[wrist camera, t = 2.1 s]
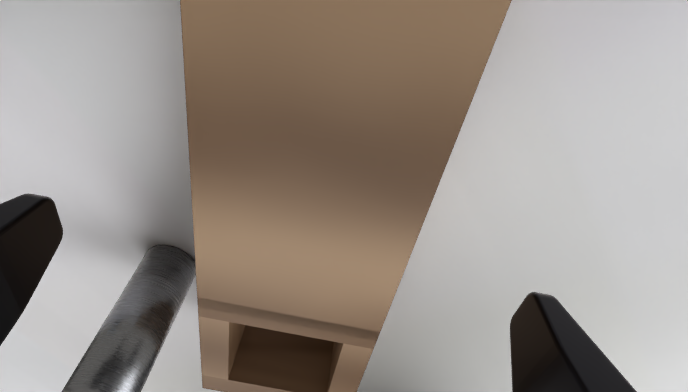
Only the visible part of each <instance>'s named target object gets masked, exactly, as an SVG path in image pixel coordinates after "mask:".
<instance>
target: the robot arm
mask: <svg viewBox="0 0 688 392" xmlns="http://www.w3.org/2000/svg"><path fill="white" fill-rule="evenodd" d="M62 236H63V228H62V225H61V222H60V218H59V215H58V212H57V209H56V206H55V203H54V201H53V200H52V199H51V198H49V197H45V196H40V195H35V194H24V195H21V196H18V197H16V198H14V199H11V200H9V201H6V202H4V203H2V204H0V345H1V344H2V343H3V341H4V340H5V338H6V337H7V335H8V334H9V332H10V331H11V329H12V328H13V326H14V325H15V323H16V322H17V320H18V319H19V317H20V316H21V314H22V313H23V311H24V309H25V307H26V306H27V304H28V302H29V300H30V298H31V297H32V295H33V293H34V291H35V289H36V287H37V285H38V283H39V282H40V280H41V278H42V276H43V274H44V272H45V270H46V269H47V267H48V265H49V263H50V261H51V259H52V257H53V255H54V254H55V252H56V250H57V248H58V246H59V244H60V242H61V240H62ZM510 340H511V365H512V390H513V392H636V391H635V389H634V388H633V387H632V386H631V385H630V384H629V382H628V381H627V380H626V379H625V378H624V377H623V375H622V374H621V373H620V372H619V371H618V370H617V369H616V367H615V366H614V365H613V364H612V363H611V362H610V360H609V359H608V358H607V357H606V356H605V355H604V353H603V352H602V351H601V350H600V349H599V348H598V347H597V345H596V344H595V343H594V342H593V341H592V340H591V338H590V337H589V336H588V335H587V334H586V333H585V332H584V330H583V329H582V328H581V327H580V326H579V325H578V323H577V322H576V321H575V320H574V319H573V318H572V316H571V315H570V314H569V313H568V312H567V311H566V310H565V308H564V307H563V306H562V305H561V304H560V303H559V301H558V300H557V299H556V298H555V297H553V296H551V295H547V294H542V293H537V292H532V293H530V294H528V295H527V296H526V298H525V299H524V301H523V302H522V304H521V305H520V307H519V308H518V309H517V311H516V312H515V314H514V315H513V317H512V319H511V323H510Z"/></svg>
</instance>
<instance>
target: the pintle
mask: <svg viewBox="0 0 688 392" xmlns="http://www.w3.org/2000/svg"><path fill="white" fill-rule="evenodd" d="M195 275H196V264H195V261H194V260H193V259H192V258H191V257H190V256H189V255H188V254H187V253H185V252H184V251H182V250H180V249H178V248H175V247H172V246H166V245H159V246H155V247H152V248H150V249H149V250H148V251H147V253H146V255H145V256H144V258H143V259H142V261H141V263H140V264H139V266H138V268H137V269H136V271H135V273H134V274H133V276H132V277H131V279H130V281H129V282H128V284H127V286H126V287H125V289H124V291H123V292H122V294H121V295H120V297H119V299H118V300H117V302H116V304H115V305H114V307H113V309H112V310H111V312H110V313H109V315H108V317H107V318H106V320H105V322H104V323H103V325H102V327H101V328H100V330H99V331H98V333H97V335H96V336H95V338H94V340H93V341H92V343H91V345H90V346H89V348H88V349H87V351H86V353H85V354H84V356H83V358H82V359H81V361H80V363H79V364H78V366H77V367H76V369H75V371H74V372H73V374H72V376H71V377H70V379H69V381H68V382H67V384H66V385H65V387H64V389H63V390H62V392H141V390H142V388H143V386H144V384H145V382H146V380H147V377H148V375H149V373H150V371H151V369H152V367H153V365H154V363H155V360H156V358H157V356H158V354H159V352H160V350H161V348H162V345H163V343H164V341H165V339H166V337H167V335H168V333H169V331H170V328H171V326H172V324H173V322H174V320H175V318H176V316H177V313H178V311H179V309H180V307H181V305H182V303H183V301H184V298H185V296H186V294H187V292H188V290H189V288H190V286H191V284H192V281H193V279H194V277H195Z"/></svg>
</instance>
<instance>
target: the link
mask: <svg viewBox="0 0 688 392" xmlns="http://www.w3.org/2000/svg"><path fill="white" fill-rule="evenodd" d="M510 3H511V0H180V5H181V22H182V39H183V57H184V74H185V91H186V108H187V126H188V143H189V160H190V178H191V195H192V212H193V229H194V247H195V264H196V281H197V298H198V316H199V333H200V350H201V368H202V385H203V388H206V389H212V390H217V391H223V392H357V389H358V387H359V384H360V382H361V379H362V377H363V374H364V371H365V369H366V366H367V364H368V361H369V359H370V356H371V354H372V351H373V349H374V346H375V344H376V341H377V339H378V336H379V334H380V331H381V329H382V326H383V323H384V321H385V318H386V316H387V313H388V311H389V308H390V306H391V303H392V301H393V298H394V296H395V293H396V291H397V288H398V286H399V283H400V281H401V278H402V276H403V273H404V270H405V268H406V265H407V263H408V260H409V258H410V255H411V253H412V250H413V248H414V245H415V243H416V240H417V238H418V235H419V233H420V230H421V228H422V225H423V222H424V220H425V217H426V215H427V212H428V210H429V207H430V205H431V202H432V200H433V197H434V195H435V192H436V190H437V187H438V185H439V182H440V180H441V177H442V175H443V172H444V169H445V167H446V164H447V162H448V159H449V157H450V154H451V152H452V149H453V147H454V144H455V142H456V139H457V137H458V134H459V132H460V129H461V127H462V124H463V121H464V119H465V116H466V114H467V111H468V109H469V106H470V104H471V101H472V99H473V96H474V94H475V91H476V89H477V86H478V84H479V81H480V79H481V76H482V74H483V71H484V68H485V66H486V63H487V61H488V58H489V56H490V53H491V51H492V48H493V46H494V43H495V41H496V38H497V36H498V33H499V31H500V28H501V26H502V23H503V21H504V18H505V15H506V13H507V10H508V8H509V5H510Z"/></svg>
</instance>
